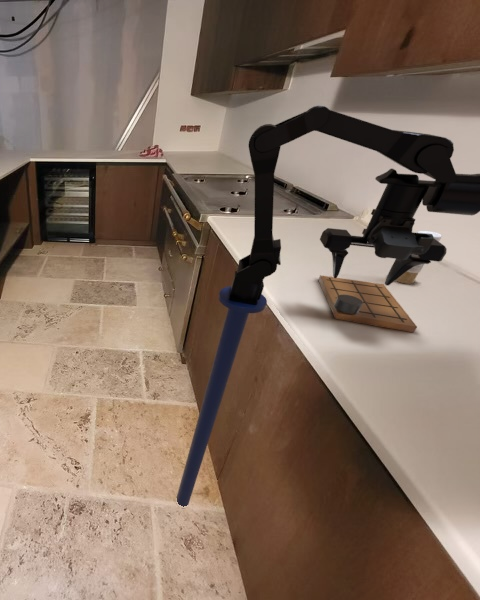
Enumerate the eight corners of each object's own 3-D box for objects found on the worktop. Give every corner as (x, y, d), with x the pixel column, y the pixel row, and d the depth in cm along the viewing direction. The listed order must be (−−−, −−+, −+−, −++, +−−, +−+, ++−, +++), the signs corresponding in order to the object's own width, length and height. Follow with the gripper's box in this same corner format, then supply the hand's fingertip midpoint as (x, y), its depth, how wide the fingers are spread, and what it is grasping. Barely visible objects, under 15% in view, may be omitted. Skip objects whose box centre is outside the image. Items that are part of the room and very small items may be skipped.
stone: (336, 311, 72) (340, 302, 71) (331, 301, 75) (335, 292, 74) (361, 315, 70) (366, 306, 69) (355, 305, 74) (359, 296, 73)
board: (335, 318, 72) (338, 312, 72) (317, 280, 88) (320, 274, 87) (413, 332, 68) (418, 326, 67) (380, 289, 83) (384, 283, 83)
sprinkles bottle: (395, 275, 90) (421, 228, 83) (416, 281, 87) (445, 234, 80) (388, 279, 88) (414, 232, 81) (409, 286, 85) (438, 237, 78)
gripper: (348, 215, 58) (316, 290, 66) (487, 227, 52) (433, 308, 60) (334, 200, 67) (307, 268, 75) (451, 209, 60) (408, 282, 68)
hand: (359, 281), depth 69 cm, fingers open, 9 cm apart
